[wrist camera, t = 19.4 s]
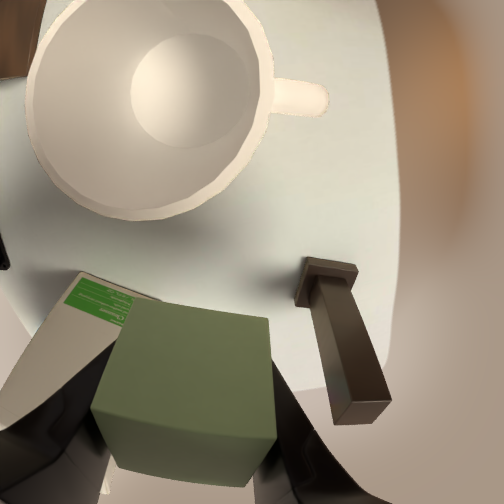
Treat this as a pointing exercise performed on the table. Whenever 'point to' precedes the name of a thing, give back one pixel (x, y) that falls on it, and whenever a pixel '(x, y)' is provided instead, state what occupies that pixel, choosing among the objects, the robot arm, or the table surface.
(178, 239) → the table surface
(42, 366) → the cosmetic box
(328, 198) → the table surface
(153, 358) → the block
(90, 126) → the mug
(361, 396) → the stand
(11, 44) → the trinket box
